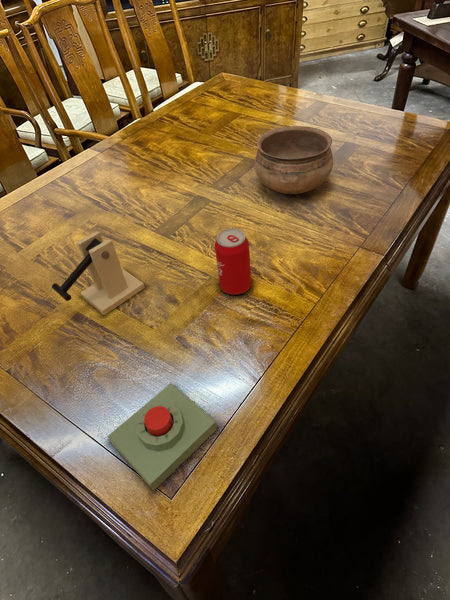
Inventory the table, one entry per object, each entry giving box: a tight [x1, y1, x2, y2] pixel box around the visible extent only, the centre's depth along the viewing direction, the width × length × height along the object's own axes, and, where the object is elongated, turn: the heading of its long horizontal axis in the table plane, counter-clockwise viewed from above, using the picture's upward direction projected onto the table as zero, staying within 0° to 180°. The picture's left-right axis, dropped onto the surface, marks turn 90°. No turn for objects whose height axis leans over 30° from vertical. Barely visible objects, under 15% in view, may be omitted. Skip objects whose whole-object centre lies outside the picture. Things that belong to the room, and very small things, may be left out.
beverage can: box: [214, 228, 252, 295], centre depth 78 cm, size 6×6×12 cm
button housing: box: [107, 382, 218, 492], centre depth 60 cm, size 12×10×4 cm
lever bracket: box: [76, 230, 146, 316], centre depth 80 cm, size 10×8×13 cm
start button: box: [144, 406, 172, 436], centre depth 58 cm, size 4×4×2 cm
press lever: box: [51, 238, 102, 302], centre depth 76 cm, size 12×5×2 cm, turn 136°
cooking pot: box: [254, 125, 334, 196], centre depth 103 cm, size 25×19×12 cm
